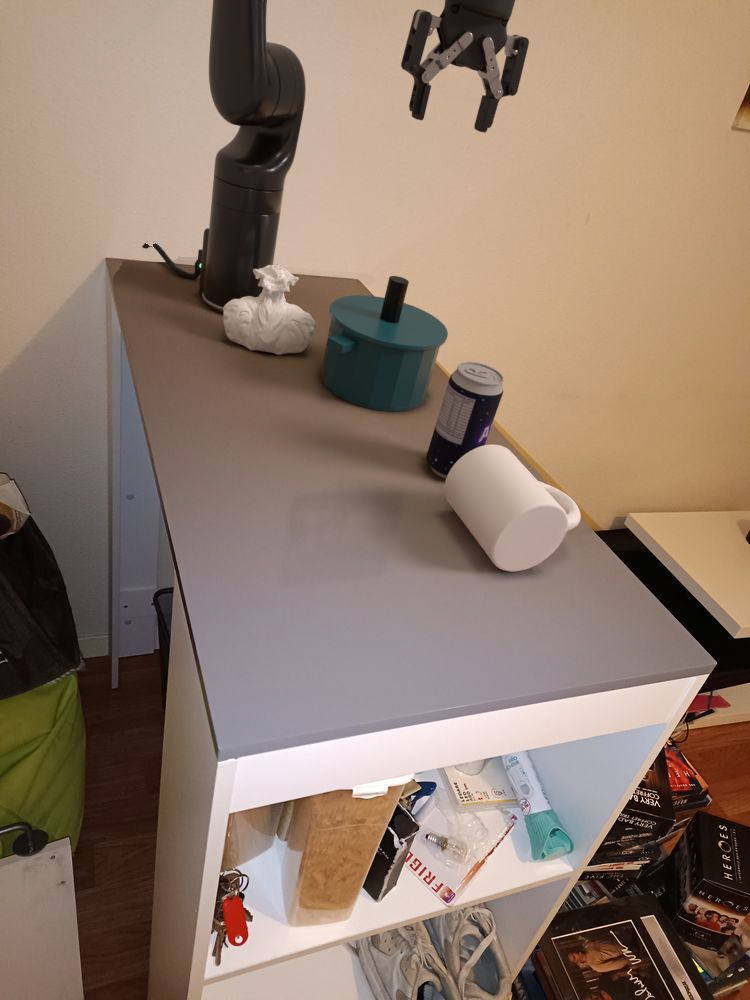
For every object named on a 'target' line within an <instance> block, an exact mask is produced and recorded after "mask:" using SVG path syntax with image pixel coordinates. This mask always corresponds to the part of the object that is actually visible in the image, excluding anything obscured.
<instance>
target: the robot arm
mask: <svg viewBox="0 0 750 1000" xmlns="http://www.w3.org/2000/svg"><path fill="white" fill-rule="evenodd" d="M515 2H516V0H444V7H443V10H442V12H441V14H440V15H439V16H437V15H435V14H432V13H431V12H430V11H427V10H425V9H420V8H419V9H416V10H415V11H414V13H413V15H412V20H411V23H410V28H409V31H408V36H407V39H406V44H405V47H404V51H403V55H402V58H401V63H400V67H401V69H402V71H403V70H404V71H405V72H407V73H408V74H410V75H411V76H412V78H413V85H412V90H411V94H410V99H409V104H408V108H409V109H408V110H409V112H410V113H411V117H412V118H413V119H415V120H416V121H417V120H419V121H424V120H425V119H424V118H425V116H426V110H427V106H428V102H429V99H430V93H431V89H432V85H431V84H430V82H431V81H433V79H434V78H435V77H436V76H437V75H438V74H439V73H440V72H441V71H443V70H445V69H446V68H448V66H449V65H452V66H456V67H458V68H467V69H469V70H471V71H475V72H477V74H478V76H479V77H480V80H481V83H482V87H483V90H484V92H485V94H482V95H481V99H480V102H479V106H478V110H477V114H476V118H475V122H474V130H476V131H478V133H479V132H480V133H484V134H485V133H487V131H488V129H491V127H492V126H493V123H494V120H495V117H496V113H497V109H498V106H499V102H500V100H501V99H502V98H504V97H508V96H509V97H514V96H516V95H517V93H518V90H519V88H520V87H519V86H520V82H521V78H522V74H523V70H524V66H525V61H526V57H527V53H528V49H529V46H530V40H529V38H528V37H526V36H522V35H519V34H513V35H510V34H508V30H507V28H508V23H509V21H510V19H511V16H512V14H513V10H514V8H515V7H514V6H515ZM267 7H268V0H212V9H211V23H210V38H209V53H208V82H209V91H210V95H211V98H212V102H213V105H214V107H215V109H216V111H217V113H218V114H219V115H220V116H221V117H222V118H223V120H224V121H226V122H227V123H229V124H230V125H234V126H238V127H239V128H238V131H237V132H236V134H235V136H234V137H233V138H232V140H231V141H230V142H228V143H227V144H226V145H224V146H223V147H222V148H220V149H219V150H218V152H217V153H216V155H215V158H214V159H215V160H214V167H213V168H214V170H213V181H212V192H211V204H210V214H209V225H208V228H207V227H206V228H205V229H204V230H203V239H202V248H201V249H200V248H199V249H198V252H197V259H196V261H195V262H194V272H193V273H190V272H187V271H185V270H183V269H181V268H179V267H178V266H177V265H176V264H175V263H174V261H173V260H172V259H171V258H170V256H169V255H168V254H167V252H166V251H165V250H164V249H163V248H162V246H160V245H159V244H158V243H157V242H155V244H153V247H154V248H153V247H152V246H149V245H148V244H146V242H145V243H143V245H142V247H141V248H142V249H144V250H145V249H146V250H148V249H149V248H153V249H155V250H156V251H157V252H158V254H159V256H161V258H162V260H163V261H164V262H165V263H166V264H167V266H169V268H170V270H171V271H172V272H174V273H175V274H178V275H179V276H181V277H183V278H185V279H187V280H188V279H189V280H196V279H198V278H199V284H198V296H200V297H201V301H202V303H203V304H204V305H205V306H206V307H208V308H210V309H211V310H212V311H216V312H218V313H220V314H221V313H222V314H223V313H224V311H223V307H224V306H225V305H226V304H227V303H228V302H229V301H231V300H232V299H240V298H242V297H246V296H252V297H259V295H260V294H261V293H262V290H263V287H262V286H258V284H259V282H260V278H259V279H256V278H255V277H256V276H255V274H254V273H253V269H257V270H258V269H260V268H264V267H266V266H268V265H273V264H274V262H275V253H276V249H277V248H276V247H277V239H278V232H279V226H280V218H281V211H282V204H283V197H284V191H285V183H286V179H287V175H288V173H289V171H290V170H291V168H292V166H293V164H294V160H295V157H296V153H297V148H298V143H299V138H300V132H301V127H302V121H303V115H304V111H305V104H306V93H307V91H306V90H307V89H306V88H307V85H306V75H305V71H304V68H303V64H302V63H301V62H302V61H301V60H300V58H299V57H298V56H297V55H296V53H295V52H294V51H293V49H291V48H289V47H288V46H285V45H283V44H279V43H276V42H270V41H267ZM435 29H436V33H437V36H438V40H439V42H438V43H437V44H436V45H435V46H434V47H432V49H431V50H430V51H429V52H428V54H427V55H426V57H425V59H424V60H423V61H422V59H423V56H424V51H425V47H426V43H427V40H428V37H430V36H432V34H433V33H434V31H435ZM503 48H504V55H505V60H504V66H503V68H502V73H501V71H500V67H499V64H498V59H497V55H498V54H499V53H500V52H501V50H503ZM421 61H422V62H421ZM500 76H501V78H500ZM156 243H157V244H156Z"/></svg>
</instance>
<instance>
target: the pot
mask: <svg viewBox="0 0 750 1000" xmlns="http://www.w3.org/2000/svg"><path fill="white" fill-rule="evenodd" d="M440 348H441V346H440V347H437V348H434V349H429V350H404V349H397V348H391V347H387V346H383V345H379V344H375V343H372V342H369V341H366V340H364V339H361V338H359V337H357V336H354V335H352V334H350V333H349V332H347V331H345V330H344V329H342V328H341V327H339V326H338V325H337V324H336V323H335V322H334V321H333V320H332V318H331V319H330V324H329V330H328V335H327V339H326V346H325V350H324V356H323V361H322V366H321V380H322V383H323V384H324V386H325V387H326V388H327V389H328V390H329V391H330V392H331V393H333V394H334V395H336V396H337V397H338V398H340V399H342V400H345V401H346V402H348V403H351V404H354V405H356V406H359V407H362V408H365V409H371V410H375V411H383V412H405V411H410V410H413V409H415V408H418V407H419V406H420V405H421V404H422V403H423V402H424V400H425V397H426V396H427V394H428V393H427V392H428V389H429V385H430V383H431V379H432V375H433V372H434V368H435V365H436V361H437V359H438V355H439V352H440Z"/></svg>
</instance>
